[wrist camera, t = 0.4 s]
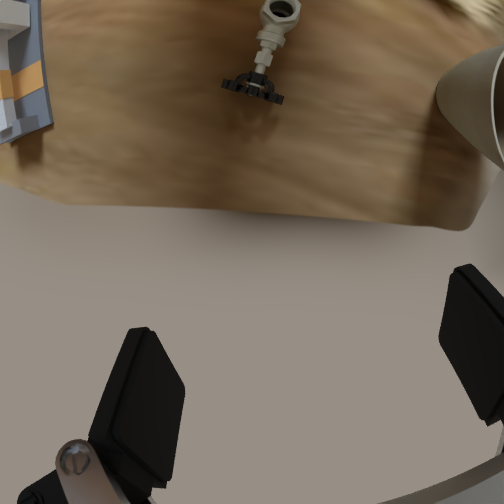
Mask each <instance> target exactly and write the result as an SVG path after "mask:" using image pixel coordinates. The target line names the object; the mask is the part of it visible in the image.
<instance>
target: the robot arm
mask: <svg viewBox="0 0 504 504" xmlns="http://www.w3.org/2000/svg"><path fill="white" fill-rule="evenodd" d="M439 343H440V345H441V347H442V349H443V350H444V352H445V354H446V356H447V357H448V359H449V361H450V363H451V364H452V366H453V368H454V370H455V372H456V373H457V375H458V377H459V379H460V381H461V383H462V385H463V387H464V388H465V390H466V392H467V394H468V396H469V398H470V400H471V402H472V404H473V406H474V408H475V410H476V412H477V414H478V416H479V418H480V419H481V420H484V421H485V423H486V425H487V426H490V425H491V424H494V423H495V422H497V421H499V420H500V419H501V421H502V423H503V429H502V433H501V438H500V442H499V445H498V449H497V452H496V456H495V457H494V458H492V459H490V460H488V461H487V462H485V463H483V464H481V465H479V466H477V467H475V468H472V469H470V470H468V471H466V472H464V473H462V474H460V475H457V476H455V477H453V478H450V479H448V480H446V481H443V482H441V483H438V484H436V485H433V486H431V487H428V488H425V489H423V490H420V491H417V492H414V493H412V494H408V495H405V496H402V497H399V498H396V499H393V500H389V501H386V502H382V503H378V504H504V297H503V296H502V295H501V294H500V293H499V292H498V291H497V289H496V288H495V287H494V286H493V285H492V284H491V283H490V282H489V281H488V280H487V279H486V278H485V277H484V276H483V275H482V274H481V273H480V272H479V270H478V269H476V267H475V266H473V265H472V264H466V265H463V266H459V267H456V268H455V269H454V271H453V273H452V274H451V275H450V278H449V284H448V291H447V296H446V302H445V307H444V312H443V317H442V322H441V327H440V331H439ZM184 398H185V386H184V384H183V382H182V380H181V378H180V377H179V375H178V373H177V371H176V370H175V368H174V366H173V364H172V363H171V361H170V359H169V357H168V355H167V353H166V352H165V350H164V348H163V346H162V344H161V342H160V340H159V338H158V337H157V335H156V333H155V332H154V331H150V329H149V328H148V327H140V328H132V329H129V331H128V332H127V335H126V337H125V340H124V342H123V344H122V347H121V349H120V352H119V354H118V356H117V359H116V361H115V364H114V366H113V369H112V371H111V374H110V377H109V379H108V382H107V384H106V387H105V390H104V392H103V395H102V398H101V400H100V403H99V406H98V408H97V411H96V414H95V417H94V420H93V423H92V425H91V428H90V431H89V434H88V436H89V438H88V441H86V440H82V439H76V440H72V441H69V442H67V443H66V444H65V445H63V446H62V448H61V449H60V450H59V452H58V454H57V456H56V462H55V465H56V469H55V470H54V471H52V472H51V473H49V474H48V475H46V476H44V477H43V478H41V479H40V480H38V481H36V482H35V483H33V484H31V485H30V486H28V487H26V488H25V489H24V490H23V491H22V492H21V493H20V495H19V497H18V500H17V504H156V503H155V501H154V500H153V498H152V497H151V491H152V487H153V488H166V485H167V481H170V480H171V478H172V473H173V467H174V460H175V453H176V447H177V440H178V434H179V428H180V421H181V415H182V409H183V404H184Z"/></svg>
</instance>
